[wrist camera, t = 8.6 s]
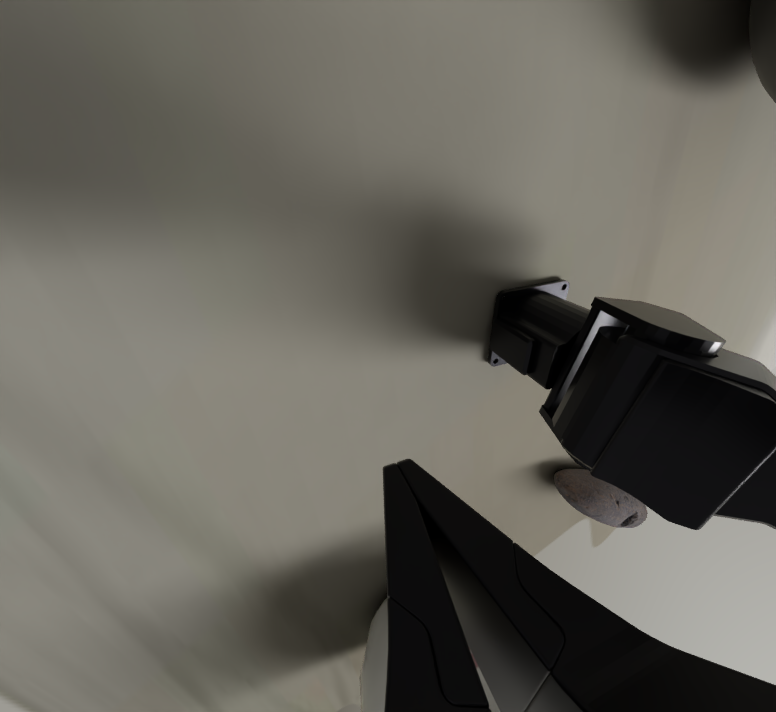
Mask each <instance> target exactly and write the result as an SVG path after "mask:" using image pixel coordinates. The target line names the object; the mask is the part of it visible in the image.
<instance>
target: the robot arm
mask: <svg viewBox="0 0 776 712" xmlns="http://www.w3.org/2000/svg"><path fill="white" fill-rule="evenodd" d="M568 289H569V282H568V281H566V280H557V281H552V282H547V283H541V284H536V285H531V286H525V287H520V288H515V289H509V290H504V291H501V292H499V293H498V295H497V297H496V303H495V310H494V318H493V325H492V333H491V340H490V348H489V355H488V363H489V364H490V365H491V366H498V365H502V364H506V363H508V364H510V365H511V366H512V367H513V368H515V369H516V370H517V371H519V372H520V373H521V374H523V375H528V376H529V377H531V378H532V379H533V380H535V381H536V382H537V383H539V384H540V385H541V386H543V387H544V388H545V389H551V388H552V389H551V391H550V393H549V395H548V397H547V399H546V401H545V403H544V405H542V406H541V409H540V411H539V413H540V414H541V416H542V417H543V418H544V420H545V421H546V423H547V424H548V426H549V427H550V429H551V430H552V431H553V433H554V434H555V436H556V437H557V439H558V440H559V442H560V443H561V445H562V447H563V448H564V449H565V450H566V452H567V453H568V454H569V455H570V456H571V458H573V460H574V461H575V462H576V463H578V464H580V465H581V466H582V467H584V468H585V469H587V470H589V471H590V474H591V475H592V476H593V477H595V478H598V479H600V480H602V481H605V482H607V483H610V484H612V485H614V486H616V487H617V488H619V489H621V490H623V491H625V492H626V493H628V494H630V495H631V496H633V497H634V498H636V499H637V500H639V501H640V502H642V503H643V504H645V505H646V506H647V507H649V508H650V509H652V510H653V511H655V512H656V513H657V514H659V515H660V516H661V517H663V518H664V519H666V520H667V521H670V522H672V523H675V524H678V525H681V526H684V527H687V528H690V529H694V530H699V529H701V528H702V527H703V526H704V525H705V524H706V522H707V521H708V520H709V519H710V518H711V517H712V516H720V517H727V518H732V519H738V520H744V521H751V522H757V523H762V524H766V525H768V526H770V527H772V528H774V529H776V377H775V376H774V375H773V374H772V373H771V372H770V371H769V370H768V369H767V368H766V367H765V366H764V365H763V364H762V363H760V362H759V361H756V360H754V359H751V358H748V357H745V356H743V355H740V354H737V353H734V352H731V351H728V350H725V349H722V346H723V345H724V344H725V342H726V340H724V339H723V338H722V337H720V336H718V335H717V334H715V333H713V332H712V331H710V330H708V329H707V328H705V327H704V326H702V325H700V324H699V323H697V322H695V321H694V320H692V319H691V318H689V317H687V316H686V315H684V314H682V313H679V312H676V311H673V310H669V309H666V308H662V307H659V306H656V305H652V304H649V303H645V302H641V301H632V300H622V299H613V298H604V297H595V298H594V300H593V302H592V304H591V306H592V308H591V310H588V309H586V308H584V307H581V306H579V305H576V304H574V303H572V302H569V301H567V300H566V297H567V293H568ZM504 296H505V297H504ZM503 297H504V299H503ZM502 299H503V300H502ZM383 490H384V519H385V549H386V578H387V613H388V656H387V677H386V693H385V707H384V712H492V711H491V710H490V709H489V703H488V700H487V697H486V694H485V691H484V689H483V686H482V683H481V680H480V677H479V675H478V672H477V669H476V666H475V663H474V660H473V658H472V655H471V652H472V654H473V656H474V658H475V660H476V662H477V664H478V667H479V669H480V671H481V673H482V675H483V677H484V679H485V681H486V683H487V685H488V687H489V689H490V691H491V693H492V695H493V698H494V700H495V702H496V704H497V706H498V708H499V710H500V712H776V685H774V684H771V683H768V682H765V681H762V680H760V679H757V678H754V677H752V676H749V675H746V674H743V673H741V672H738V671H735V670H732V669H730V668H727V667H724V666H722V665H719V664H716V663H714V662H711V661H708V660H705V659H703V658H700V657H697V656H695V655H691V654H689V653H686V652H684V651H681V650H679V649H676V648H674V647H671V646H669V645H667V644H665V643H663V642H661V641H659V640H657V639H655V638H653V637H651V636H649V635H647V634H646V633H644V632H642V631H641V630H639V629H637V628H636V627H634V626H633V625H631V624H630V623H628V622H627V621H625V620H624V619H622V618H621V617H619V616H618V615H616V614H615V613H613V612H611V611H610V610H609V609H607V608H606V607H604V606H603V605H601V604H600V603H598V602H597V601H595V600H594V599H592V598H591V597H589V596H588V595H586V594H584V593H583V592H582V591H580V590H579V589H577V588H576V587H574V586H572V585H571V584H570V583H568V582H567V581H566V580H564V579H563V578H561V577H560V576H558V575H557V574H555V573H554V572H553V571H551V570H550V569H548V568H547V567H546V566H544V565H543V564H542V563H540V562H539V561H538V560H536V559H535V558H534V557H533V556H531V555H530V554H529V553H527V552H526V551H525V550H524V549H523V548H521V547H520V546H519V545H518V544H516V543H513V541H512V540H511V539H510V538H509V537H507V536H506V535H505V534H504V533H502V532H501V531H500V530H499V529H497V528H496V527H495V526H494V525H492V524H491V523H490V522H489V521H487V520H486V519H485V518H484V517H482V516H481V515H480V514H479V513H477V512H476V511H475V510H474V509H472V508H471V507H470V506H469V505H467V504H466V503H465V502H464V501H462V500H461V499H460V498H459V497H457V496H456V495H455V494H454V493H452V492H451V491H450V490H449V489H447V488H446V487H445V486H444V485H442V484H441V483H440V482H439V481H437V480H436V479H435V478H434V477H432V476H431V475H430V474H429V473H427V472H426V471H425V470H424V469H423V468H421V467H420V466H419V465H418V464H416V463H415V462H414V461H413V460H411V459H405V460H402V461H399V462H397V464H396V463H393V464H390V465H387V466H384V467H383ZM469 648H470V649H469ZM470 650H471V652H470Z"/></svg>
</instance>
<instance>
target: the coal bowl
mask: <svg viewBox="0 0 776 712" xmlns="http://www.w3.org/2000/svg"><path fill="white" fill-rule="evenodd" d="M749 38H750V47H751V53H752V58H753V63H754V66H755V69H756V71H757V74H758V76H759V79H760V81H761V83H762V85H763V87H764V88H765V90H766V91H767V92H768V94H769V95H770V97H771V98H772V99H773V100H774V102H775V103H776V0H751V7H750V17H749Z"/></svg>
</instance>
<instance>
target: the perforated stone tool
mask: <svg viewBox="0 0 776 712" xmlns="http://www.w3.org/2000/svg"><path fill="white" fill-rule="evenodd" d="M554 483H555V485H556V488H557V489H558V491H559V492H560V494H561V495H562V496H563V497H564V499H565V500H566V501H567V502H568V503H569V504H570V505H571V506H573V507H574V508H575V509H576V510H578V511H579V512H581V513H583V514H584V515H586V516H588V517H590V518H592V519H594V520H597V521H599V522H601V523H604V524H607V525H610V526H613V527H626V528H633V527H636V526H638V525H640V524H641V523H643V521H645V520H646V518H647V510H646V506H645V504H643V503H642V502H640V501H639V500H637V499H636V498H634V497H633V496H631V495H630V494H628V493H626V492H625V491H623V490H621V489H619V488H617V487H616V486H614V485H612V484H610V483H607V482H605V481H602V480H600V479H598V478H595V477H593V476H592V475H591V474H590V471H589V470H586V469H563V470H560V471H558V472H556V473H555V475H554Z"/></svg>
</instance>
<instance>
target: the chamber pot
mask: <svg viewBox="0 0 776 712" xmlns="http://www.w3.org/2000/svg"><path fill="white" fill-rule="evenodd" d="M469 649H470V648H469ZM470 652H471V650H470ZM471 655H472V658H473V660H474V663H475V666H476V669H477V672H478V675H479V677H480V680H481V683H482V686H483V689H484V691H485V694H486V697H487V700H488V703H489V709H490V710H491V711H492V712H500V710H499V708H498V706H497V704H496V702H495V700H494V698H493V695H492V693H491V691H490V689H489V687H488V685H487V683H486V681H485V679H484V677H483V675H482V673H481V671H480V669H479V667H478V664H477V662H476V660H475V658H474V656H473V654H472V652H471ZM387 656H388V613H387V598H386V599H385V600H384V601H383V603H382V604H381V605H380V607H379V608H378V610H377V611H376V612H375V615H374V617H373V620H372V622H371V626H370V630H369V634H368V639H367V644H366V649H365V654H364V659H363V664H362V669H361V674H360V696H361V712H384V707H385V693H386V677H387Z"/></svg>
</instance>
